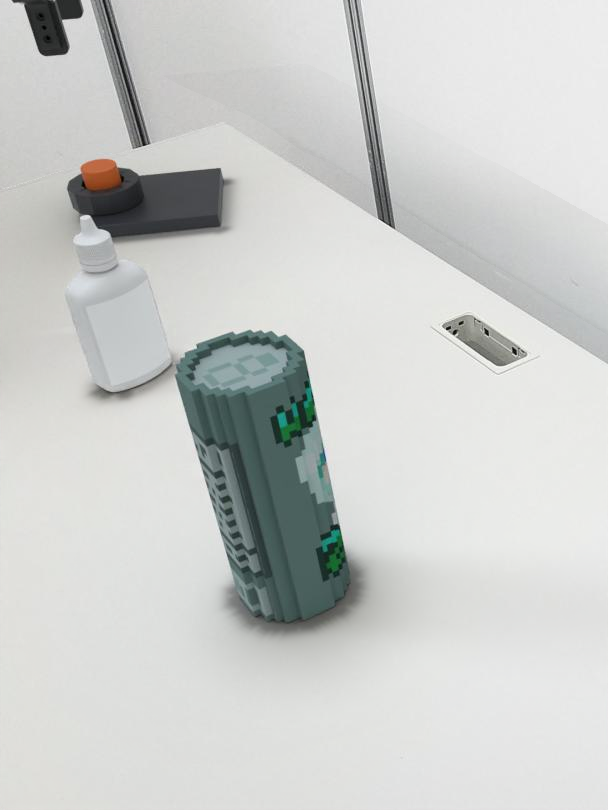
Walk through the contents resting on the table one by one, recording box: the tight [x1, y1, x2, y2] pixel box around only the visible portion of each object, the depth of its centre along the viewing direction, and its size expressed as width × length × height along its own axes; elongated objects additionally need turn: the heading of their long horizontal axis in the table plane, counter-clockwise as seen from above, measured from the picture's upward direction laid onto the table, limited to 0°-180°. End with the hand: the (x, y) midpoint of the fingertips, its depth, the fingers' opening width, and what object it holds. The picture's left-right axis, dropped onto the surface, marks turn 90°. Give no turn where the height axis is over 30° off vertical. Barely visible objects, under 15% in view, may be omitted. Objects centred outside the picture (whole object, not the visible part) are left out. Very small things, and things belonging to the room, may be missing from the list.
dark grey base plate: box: [66, 166, 224, 239], centre depth 109 cm, size 12×10×3 cm
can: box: [174, 329, 351, 624], centre depth 67 cm, size 6×6×15 cm
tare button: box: [79, 158, 122, 190], centre depth 107 cm, size 3×3×2 cm
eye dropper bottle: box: [64, 214, 173, 393], centre depth 85 cm, size 4×6×12 cm
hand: (63, 35), depth 97 cm, fingers open, 8 cm apart
